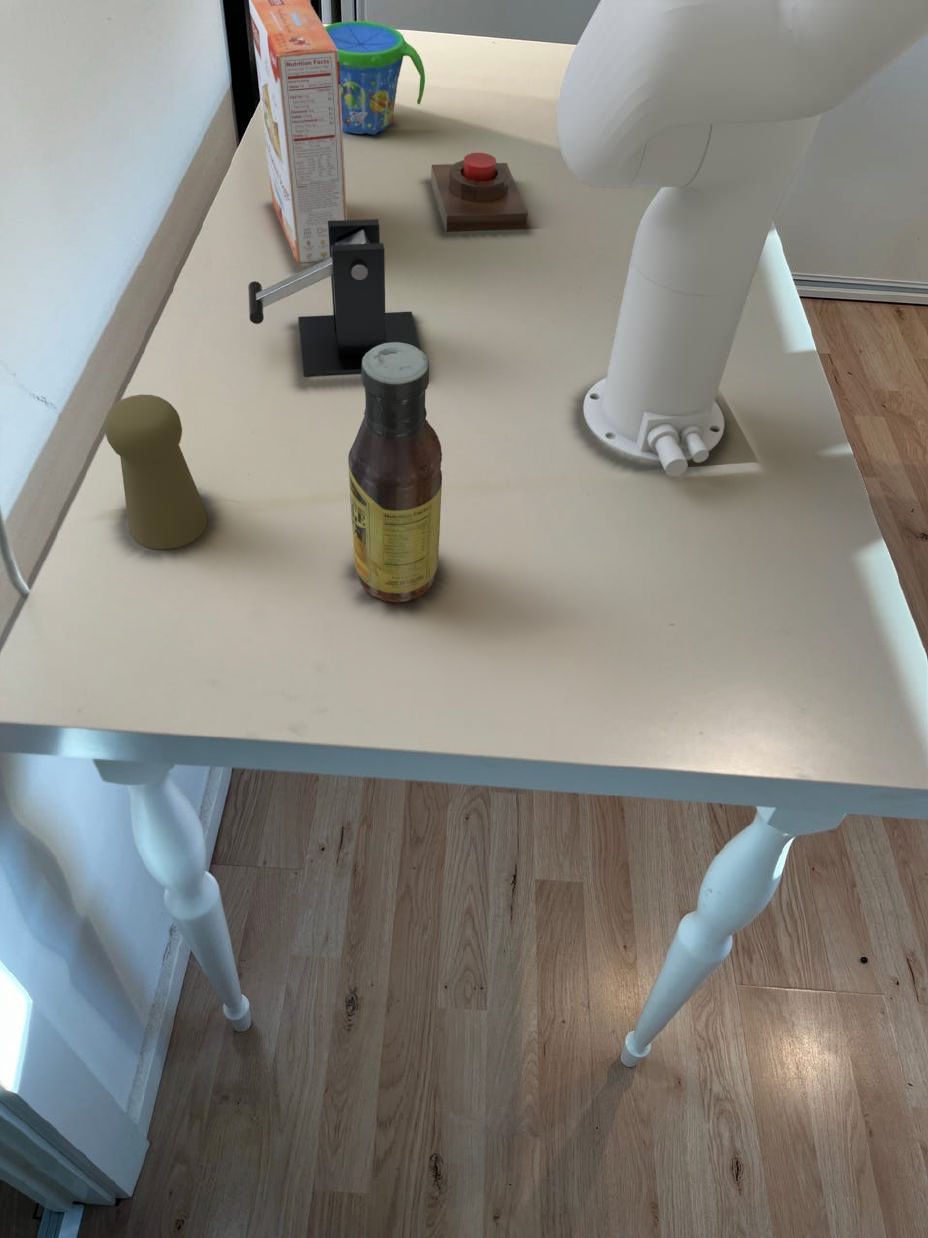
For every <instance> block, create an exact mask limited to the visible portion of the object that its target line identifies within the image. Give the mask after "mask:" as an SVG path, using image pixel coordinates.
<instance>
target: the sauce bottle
mask: <svg viewBox="0 0 928 1238" xmlns="http://www.w3.org/2000/svg"><path fill="white" fill-rule="evenodd" d="M420 350H421V349H420ZM420 350H419V349H418V348H416V347H415V346H412V345H409V344H405V343H399V342H391V343H384V344H381V345H378V346H376V347H374V348H373V349H371V350H370V351H369V352H367V353H366V354H365V356H364V357H363V359H362V374H360V375H361V377H360V378H361V383H362V386H363V387H364V395H365V400H364V401H365V404H364V405H365V407H364V408H365V409H364V411H363V419H362V421H361V424H360V426H359V429H358V430H357V433H356V436H355V439H354V441H353V443H352V446H351V447H350V450H349V453H348V457H347V459H348V460H347V464H348V478H349V479H348V480H349V493H350V494H349V497H350V498H349V499H350V512H351V514H350V515H351V516H350V517H351V530H352V546H353V562H354V563H353V564H354V568H355V571H356V573H357V577H358V580H359V582H360V585H361V587H362V588H363V590H365V592H366V593H368V594H369V595H370V596H372V597H375V598H377V599H378V600H381V601H384V602H389V603H390V602H391V603H405V602H409V601H414V600H415V599H418V598H421V597H422V596H424V595H425V593H426V592H427V591H429V589H430V588H431V586H432V584H433V583H434V580H435V578H436V575H437V569H438V564H439V552H440V550H439V549H440V532H441V531H440V530H441V509H442V506H441V505H442V491H443V490H442V489H443V488H442V487H443V472H442V461H443V453H442V446H441V445H442V444H441V442H440V440H439V439H440V438H439V436H438V434H437V432H436V430H435V429H434V427H432V425H431V424H430V423H429V421H428V419H426V418H427V408H426V390H427V389H428V387H429V383H430V362H429V358H428V356H427V355H426V353H425V352H424V351H422V350H421V351H420Z"/></svg>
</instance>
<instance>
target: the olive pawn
mask: <svg viewBox="0 0 928 1238" xmlns="http://www.w3.org/2000/svg"><path fill="white" fill-rule="evenodd" d="M104 432H105V437H106V440H107V442H108V444H109V446H110V447H111V449H112V450H113V451H114V452H115V454H116V455H118V456H119V458H120V467H121V475H122V482H123V490H124V500H125V507H126V515H127V523H128V530H129V534H130V535H131V537H132V538H133V540H134V541H135V542H136V543H138V544H139V545H141V546H143V547H144V548H145V547H146V548H149V549H153V550H172V549H177V548H182V547H184V546H185V545H188V544H191V543H192V542H194V541H195V540H196V539H197V538H199V537H200V536H202V533H203V532H204V531H205V529H206V528H207V525H208V519H209V517H208V514H207V510H206V507H205V505H204V502H203V500H202V497H201V495H200V493H199V490H198V488H197V485H196V482H195V480H194V478H193V476H192V473H191V471H190V468H189V465H188V463H187V461H186V459H185V455H184V453H183V451H182V449H181V446H180V444H181V440H182V435H183V426H182V421H181V418H180V414H179V413H178V411H177V410H176V408H175V407H174V406H173V405H172V403H170V402H169V401H167V400H166V399H165V398H162V397H161V396H157V395H153V394H135V395H129V396H128V397H125V398H122V399H121V400H118V401H116V402H115V403H114V404H113V405H112V406H111V408H109V410H108V412H107V415H106V417H105V420H104Z"/></svg>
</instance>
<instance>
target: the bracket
mask: <svg viewBox="0 0 928 1238" xmlns="http://www.w3.org/2000/svg"><path fill="white" fill-rule="evenodd" d="M361 230H364V231H365V233H366V235H367V237H368V239H369V241H370V243H371V244H346V245H335V243H336V242H338V241H340V240H343V239H345V238H347V237H349V236H351V235H353V234H355V233H357V232H359V231H361ZM380 234H381V233H380V221H379V218H373V219H371V218H370V219H347V220H337V221H328V236H329V252H330V258H331V257H332V269H333V275H331V276H330V281H331V282H330V283H331V297H332V298H331V300H332V314H330V315H307V316H303V315H302V316H298V317H297V322H298V334H299V342H300V343H299V344H300V352H301V353H300V355H301V362H302V364H301V365H302V374H303V375H302V376H303V377H305V378H309V377H324V376H327V377H328V376H342V375H343V376H344V375H362V359H363V357H364V356H365V354H366V353H367V352H369V351H370V350H371V349H373V348H374V347H376V346H378V345H381V344H384V343H391V342H399V343H405V344H409V345H412V346H415V347H416V348H418V349H419V350H420V351H422V350H421V347H420V342H419V338H418V333H417V329H416V325H415V320H414V316H413V312H412V311H394V312H393V311H392V312H386V263H385V262H386V261H385V260H386V258H385V257H386V256H385V255H386V253H385V245H384V243H383V242H381V241H380V240H381V239H380Z"/></svg>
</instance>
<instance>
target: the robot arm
mask: <svg viewBox="0 0 928 1238" xmlns="http://www.w3.org/2000/svg"><path fill="white" fill-rule="evenodd" d="M582 32H583V33H582V34H581V36H580V38H579V40H578V42H577V44H576V46H575V48H574V50H573V53H571V57H570V59H569V61H568V64H567V67H566V69H565V72H564V75H563V78H562V82H561V85H560V91H559V96H558V100H557V107H556V137H557V144H558V148H559V151H560V154H561V157H562V159H563V161H564V163H565V166H566V167H567V168H568V170H569V171H570V173H571V174H572V175H573V176H574V177H575V178H576V179H577V180H579V181H580V182H582V183H583V184H585V185H587V186H589V187H593V188H598V189H613V190H614V189H618V190H619V189H621V190H623V189H645V188H648V189H649V188H650V189H651V188H660V190H659V191H658V192H657V193H656V195H655V196H654V198H653V199H652V200H651V202H650V204H649V205H648V206H647V208H646V210H645V212H644V214H643V216H642V218H641V220H640V222H639V224H638V228H637V231H636V233H635V237H634V242H633V246H632V251H631V256H630V261H629V265H628V271H627V275H626V278H625V279H626V281H625V285H624V290H623V295H622V299H621V303H620V304H621V305H620V310H619V315H618V319H617V324H616V330H615V333H614V334H615V335H614V339H613V344H612V349H611V353H610V358H609V363H608V369H607V373H606V377H603V379H600V380H599V381H598V382H596V383H594V384H593V386H591V388H590V389H589V390H588V391H587V392H586V394H585V397H584V400H583V405H582V411H583V417H584V420H585V422H586V424H587V426H588V427H589V429H590V430H591V432H592V433H593V434H594V435H595V436H596V437H597V438H598V439H599V440H600V441H601V442H603V443H604V444H606V445H607V446H609V448H611V449H613V450H616V451H618V452H619V453H621V454H624V455H626V456H629V457H632V458H635V459H639V460H643V461H649V462H656V463H658V462H659V463H661V466H662V469H663V470H664V472H665V475H666V476H668V477H675V478H676V477H678V476H681V475H682V474H684V473H685V472H687V471H686V470H687V469H688V466H689V465H688V463H689V462H688V461H690V460H692V461H693V462H694V463H698V464H699V463H703V462H704V461H706V460H707V459H708V458H709V456H710V451H712V450H713V449H714V448H716V446H717V445H718V444H719V442H720V441H721V439H722V437H723V434H724V430H725V417H724V414H723V412H722V409H721V408H720V406H719V405H718V403H717V402H716V397H717V395H718V392H719V391H718V390H719V387H720V384H721V381H722V377H723V374H724V373H725V369H726V367H727V366H726V365H727V362H728V359H729V356H730V353H731V349H732V347H733V343H734V340H735V338H736V334H737V331H738V327H739V324H740V321H741V318H742V315H743V312H744V309H745V305H746V302H747V299H748V296H749V293H750V290H751V286H752V283H753V281H754V278H755V275H756V272H757V270H758V265H759V263H760V260H761V256H762V253H763V250H764V248H765V244H766V242H767V238H768V236H769V233H770V231H771V227H772V224H773V222H774V220H775V217H776V214H777V212H778V209H780V205H781V204H782V201H783V199H784V196H785V195H786V192H787V190H788V189H789V186H790V184H791V183H792V180H793V179H794V177H795V175H796V174H797V172H798V170H799V168H800V166H801V163H802V162H803V161H804V159H805V156H806V155H807V153H808V151H809V149H810V147H811V144H812V142H813V140H814V137H815V135H816V132H817V129H818V127H819V125H820V122H821V118H822V114H824V113H826V112H829V111H831V110H833V109H835V108H836V107H838V106H840V105H841V104H843V103H844V102H846V101H848V100H849V99H850V98H851V97H853V96H854V95H855V94H856V93H858V92H860V90H861V89H863V88H864V87H865V86H867V85H868V84H869V83H871V81H873V80H874V79H876V78H877V77H878V76H880V74H882V73H883V72H884V71H885V70H886V69H888V68H889V67H891V66H892V65H893V64H894V63H895V62H897V61H898V60H899V59H900V58H902V56H904V55H905V54H907V53H908V52H909V51H910V50H911V49H913V48H914V47H915V46H917V45H918V44H919V43H920V42H921V41H923V40H924V39H926V37H928V0H600V1H599V3H598V5H597V7H596V8H595V10H594V11H593V14H592V16H591V18H590V19H589V22H588V23H587V25H586V27H585V29H584V31H582ZM592 397H595V398H597V399H594V398H592ZM712 429H713V430H717V431H713V430H712ZM608 436H609V437H610V436H611V437H613V438H608Z"/></svg>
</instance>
